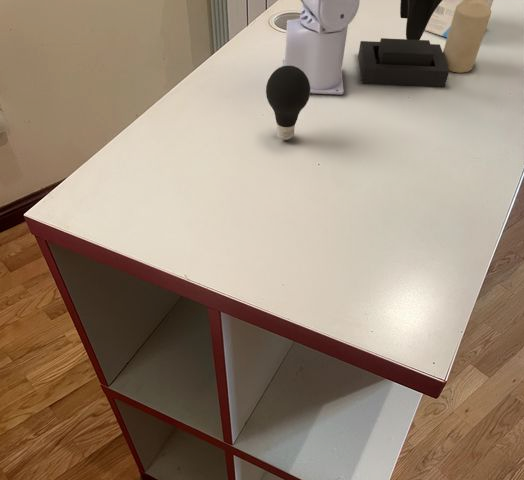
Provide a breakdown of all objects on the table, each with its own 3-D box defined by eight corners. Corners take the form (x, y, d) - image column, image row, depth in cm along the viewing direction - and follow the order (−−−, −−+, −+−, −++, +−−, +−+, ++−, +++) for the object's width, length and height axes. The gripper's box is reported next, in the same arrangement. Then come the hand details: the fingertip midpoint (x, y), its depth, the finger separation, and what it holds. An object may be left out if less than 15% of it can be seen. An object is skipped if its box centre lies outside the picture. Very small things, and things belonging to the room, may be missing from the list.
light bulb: (281, 123, 76) (285, 52, 68) (313, 138, 74) (321, 67, 66) (256, 140, 73) (257, 68, 65) (288, 156, 71) (293, 84, 63)
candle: (473, 74, 86) (496, 7, 78) (439, 71, 87) (459, 4, 79) (471, 59, 89) (494, -7, 81) (439, 56, 90) (458, -10, 82)
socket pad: (361, 83, 84) (364, 67, 82) (358, 56, 89) (360, 40, 87) (444, 87, 84) (449, 71, 82) (435, 59, 89) (440, 44, 87)
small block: (378, 77, 85) (383, 52, 82) (375, 63, 88) (380, 37, 85) (426, 79, 85) (433, 54, 82) (422, 65, 88) (429, 40, 85)
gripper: (475, -63, 66) (442, 50, 77) (455, -96, 74) (428, 10, 85) (420, -65, 66) (395, 47, 77) (406, -98, 74) (385, 8, 85)
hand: (409, 27), depth 81 cm, fingers open, 7 cm apart
